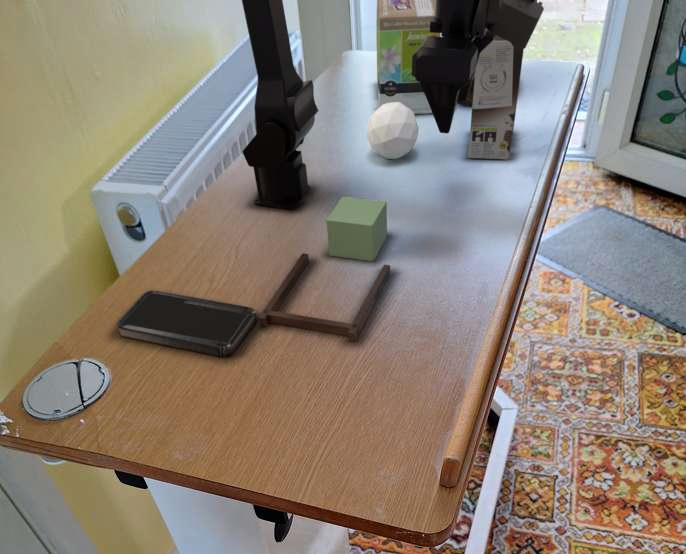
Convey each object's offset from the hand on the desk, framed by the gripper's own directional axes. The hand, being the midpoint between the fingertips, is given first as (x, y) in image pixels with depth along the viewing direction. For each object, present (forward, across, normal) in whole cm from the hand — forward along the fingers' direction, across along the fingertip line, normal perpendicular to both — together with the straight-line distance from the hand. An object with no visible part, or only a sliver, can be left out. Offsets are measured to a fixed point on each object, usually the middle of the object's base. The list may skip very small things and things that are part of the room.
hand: (453, 116), depth 81 cm
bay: (+13, -22, +9) cm, 27 cm away
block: (+13, -10, +9) cm, 19 cm away
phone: (+14, -30, +23) cm, 41 cm away
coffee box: (+13, +22, -2) cm, 26 cm away
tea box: (+14, +38, +16) cm, 44 cm away
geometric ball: (+14, +16, +12) cm, 25 cm away
